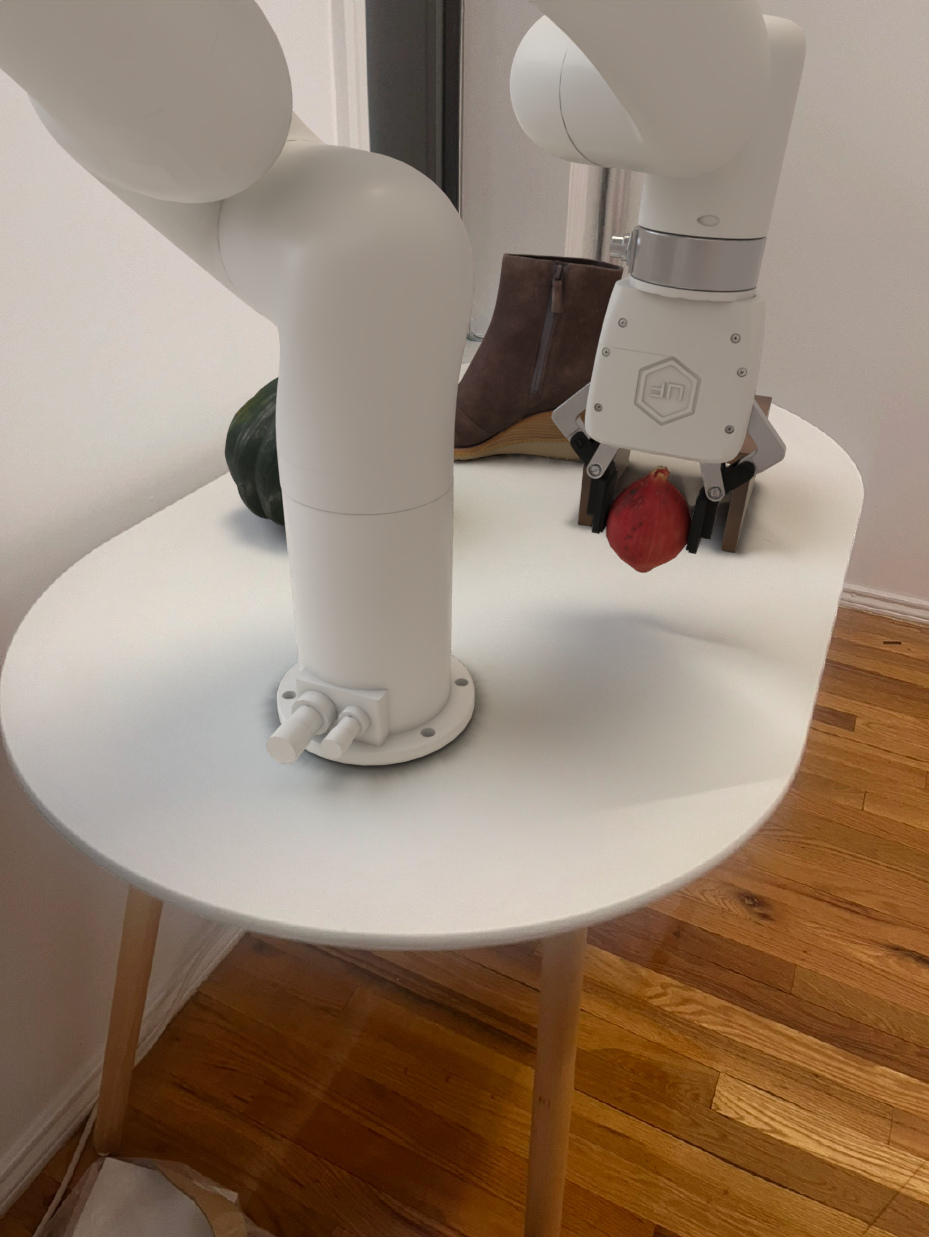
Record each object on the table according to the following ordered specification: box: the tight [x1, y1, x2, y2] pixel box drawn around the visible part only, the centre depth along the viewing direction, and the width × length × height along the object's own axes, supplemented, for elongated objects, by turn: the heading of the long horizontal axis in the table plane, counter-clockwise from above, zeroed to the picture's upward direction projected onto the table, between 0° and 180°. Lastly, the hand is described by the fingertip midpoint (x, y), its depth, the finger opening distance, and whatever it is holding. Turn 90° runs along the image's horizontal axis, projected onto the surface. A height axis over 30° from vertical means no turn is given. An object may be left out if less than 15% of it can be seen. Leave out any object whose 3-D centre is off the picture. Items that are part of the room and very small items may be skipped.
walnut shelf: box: [577, 394, 773, 553], centre depth 82 cm, size 16×14×9 cm
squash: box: [224, 376, 285, 527], centre depth 77 cm, size 14×15×15 cm
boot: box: [454, 252, 625, 462], centre depth 90 cm, size 9×24×20 cm, turn 84°
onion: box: [605, 465, 692, 574], centre depth 61 cm, size 6×6×8 cm
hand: (647, 533), depth 62 cm, fingers closed on onion, 6 cm apart
